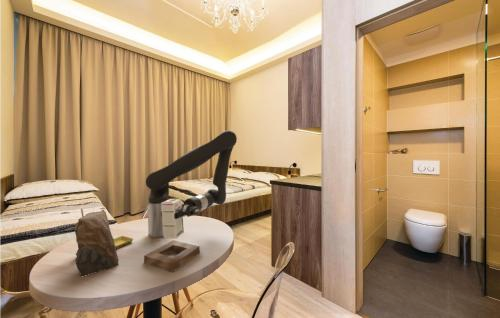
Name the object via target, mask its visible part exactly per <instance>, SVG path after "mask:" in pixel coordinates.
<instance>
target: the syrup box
mask: <svg viewBox="0 0 500 318" xmlns="http://www.w3.org/2000/svg"><path fill="white" fill-rule="evenodd" d="M182 204H183V202H182V199H181V198H168V200H167V201H165V202H162V203H161V207H162V220H163V234H164V236H163V238H164V239H173V240H174V239H175V240H176V239H178V238H179V237H180V236H181V235H182V234H184V233H185V231H184V230H185V229H184V217H183V216H182V217H180V218H178V219H174V214H175V213H177V212H179V211H182Z"/></svg>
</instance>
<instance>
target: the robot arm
mask: <svg viewBox="0 0 500 318" xmlns="http://www.w3.org/2000/svg"><path fill="white" fill-rule="evenodd" d="M237 140H238V138H237V134H236V133H235V132H234V131H231V130H224V131H222V132H221V133H220V134H218V135H217V136H216V137H214V138H213V139H211V140H210V141H208V142H207V143H204V144H201V145H200V146H198V147H197V146H196V147H195V148H194V149H191V150H189V151H187V152H186V153H185V154H183V155H181V156H180V157H178V158H177V159H175V160H174V161H172V163H170V164H168V165H167V166H165V167H162V168H160V169H158V170H156V171H153V172H150V174H148V176H147V177H146V179H145V185H146V187H147V188H148V189H149V190H150V194H149V197H148V217H147V227H148V236H149V237H150V238H162V237H163V238H164V234H163V220H162V207H161V203H162V202H165V201H167V200H169V194H170V182H172V181H173V180H175V179H176V178H178V177H180V176H183V175H185V174H187V173H190V172H192V171H194V170H195V169H197V168H199V167H200V166H202V165H203V164H205V163H207V162H208V161H210V159H212V158H213V157H214V156H217V154H218V158H217V162H216V165H215V169H214V174H213V178H212V184H213V186H216V187H217V189H215V188H210V189H208V190H207V191H206V192H204V193H202V194H199V195H195V196H192V197H189V198H186V199H185V200H184V201H183V202H182V211H179V212H177V213H175V214H174V219H178V218H180V217H182V216H183V218H184V217H185V218H186V217H191V216H194V215H197V214H199V213H200V212H202V211H204V210H205V209H208V208H210V207H212V206H213V205H214V204H217V205H223V204H224V203H225V202H226V200H227V187H226V184H227V179H228V174H229V167H230V166H229V164H230V159H231V154H232V153H233V152H232V151H233V149H234V147H235V145H236V143H237Z"/></svg>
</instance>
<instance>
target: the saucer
mask: <svg viewBox="0 0 500 318" xmlns="http://www.w3.org/2000/svg"><path fill="white" fill-rule="evenodd" d="M113 240H114V244H115V247H116V249H119V248H121V247H123V246H126V245H129V244H131V243H132V242H133V240H134V238H133V237H128V236H125V235H121V236H118V237H116V238H113Z"/></svg>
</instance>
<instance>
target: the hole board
mask: <svg viewBox="0 0 500 318" xmlns="http://www.w3.org/2000/svg"><path fill="white" fill-rule="evenodd" d="M200 249H201V247H200V245H195V244H190V243H188V242H183V241H179V240H176V239H175V240H174V239H173V240H170V241H169V242H166V243H165V244H163V245H162V246H159V247H158V248H156V249H153V250H152V251H150V252H148V253H146V254H144V255H143V263H144V264H147V265H149V266H153V267H155V268H158V269H162V270H164V271H168V272H171V273H174V272H175V271H177V270H179V268H181V267H182V266H184V265H185V264H186V263H188V262H190V261H191V260H193V259H194V258H195V257H197V256H198V255H200V253H201V250H200ZM171 253H177V254H176V255H174V256H173V257H172V256H169V255H170V254H171Z"/></svg>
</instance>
